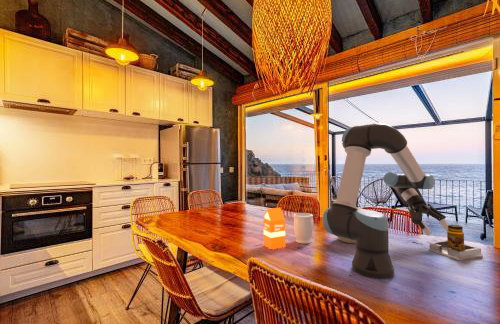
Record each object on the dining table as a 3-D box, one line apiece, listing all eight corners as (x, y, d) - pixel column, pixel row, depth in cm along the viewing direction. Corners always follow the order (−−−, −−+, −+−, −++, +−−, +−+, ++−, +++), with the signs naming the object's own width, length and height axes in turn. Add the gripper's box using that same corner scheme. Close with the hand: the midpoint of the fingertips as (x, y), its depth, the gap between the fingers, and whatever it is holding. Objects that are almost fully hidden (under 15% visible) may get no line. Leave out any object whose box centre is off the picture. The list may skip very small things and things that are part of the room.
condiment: (454, 254, 112) (454, 227, 112) (439, 248, 120) (439, 223, 120) (470, 253, 112) (469, 227, 112) (454, 247, 120) (453, 222, 120)
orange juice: (263, 245, 132) (263, 207, 132) (277, 242, 135) (277, 206, 135) (271, 249, 124) (270, 210, 125) (285, 247, 128) (285, 208, 128)
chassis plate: (458, 260, 107) (458, 252, 107) (428, 250, 120) (428, 242, 120) (482, 256, 111) (482, 248, 111) (450, 246, 124) (450, 239, 124)
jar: (316, 241, 137) (316, 214, 137) (307, 245, 129) (306, 217, 130) (300, 237, 144) (299, 211, 144) (290, 241, 137) (289, 214, 137)
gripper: (425, 201, 143) (453, 234, 128) (390, 204, 136) (415, 239, 122) (434, 193, 138) (464, 226, 123) (398, 195, 131) (425, 231, 117)
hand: (440, 233), depth 122 cm, fingers open, 13 cm apart
